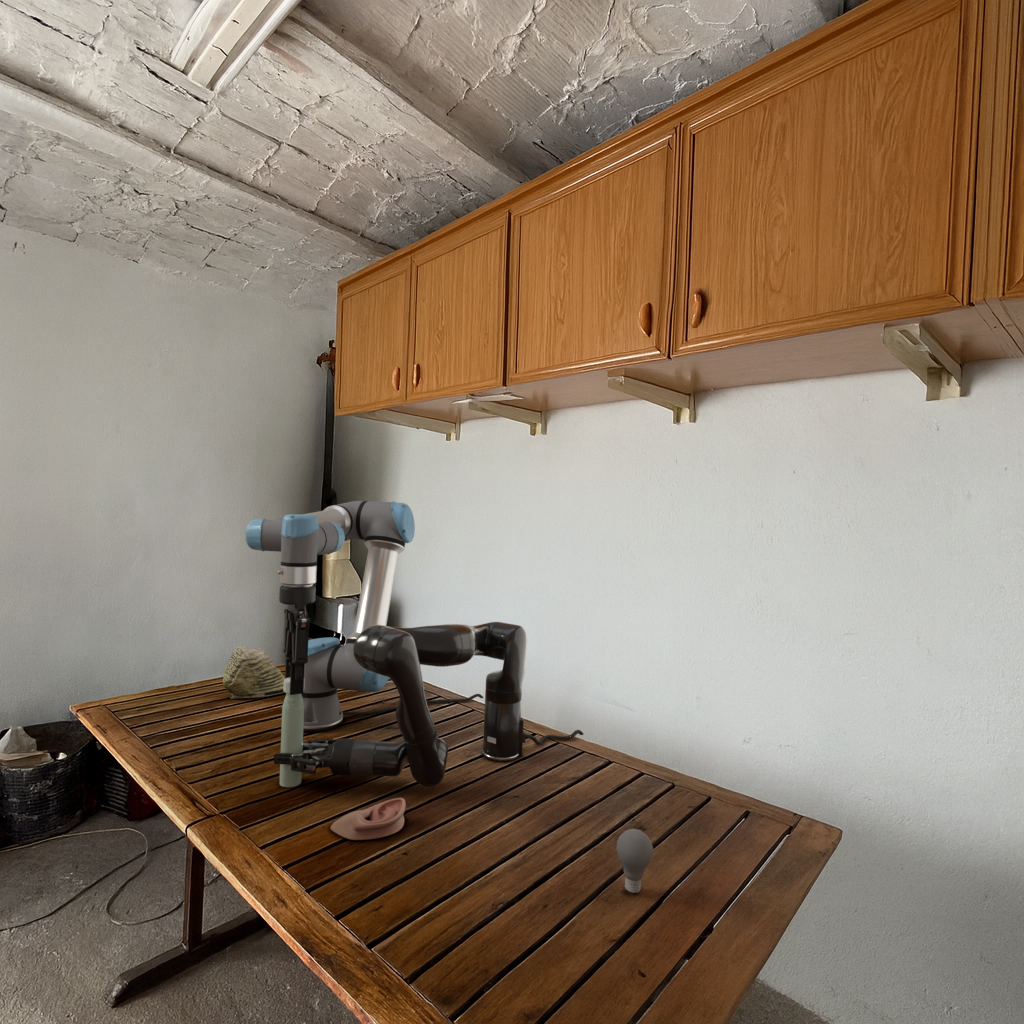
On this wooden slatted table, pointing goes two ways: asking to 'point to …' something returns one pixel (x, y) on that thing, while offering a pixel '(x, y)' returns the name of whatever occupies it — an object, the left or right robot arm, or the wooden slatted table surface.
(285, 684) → the cap
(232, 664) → the fossil
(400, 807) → the anatomical model
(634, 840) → the light bulb
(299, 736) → the bottle
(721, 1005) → the wooden slatted table surface
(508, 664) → the right robot arm
